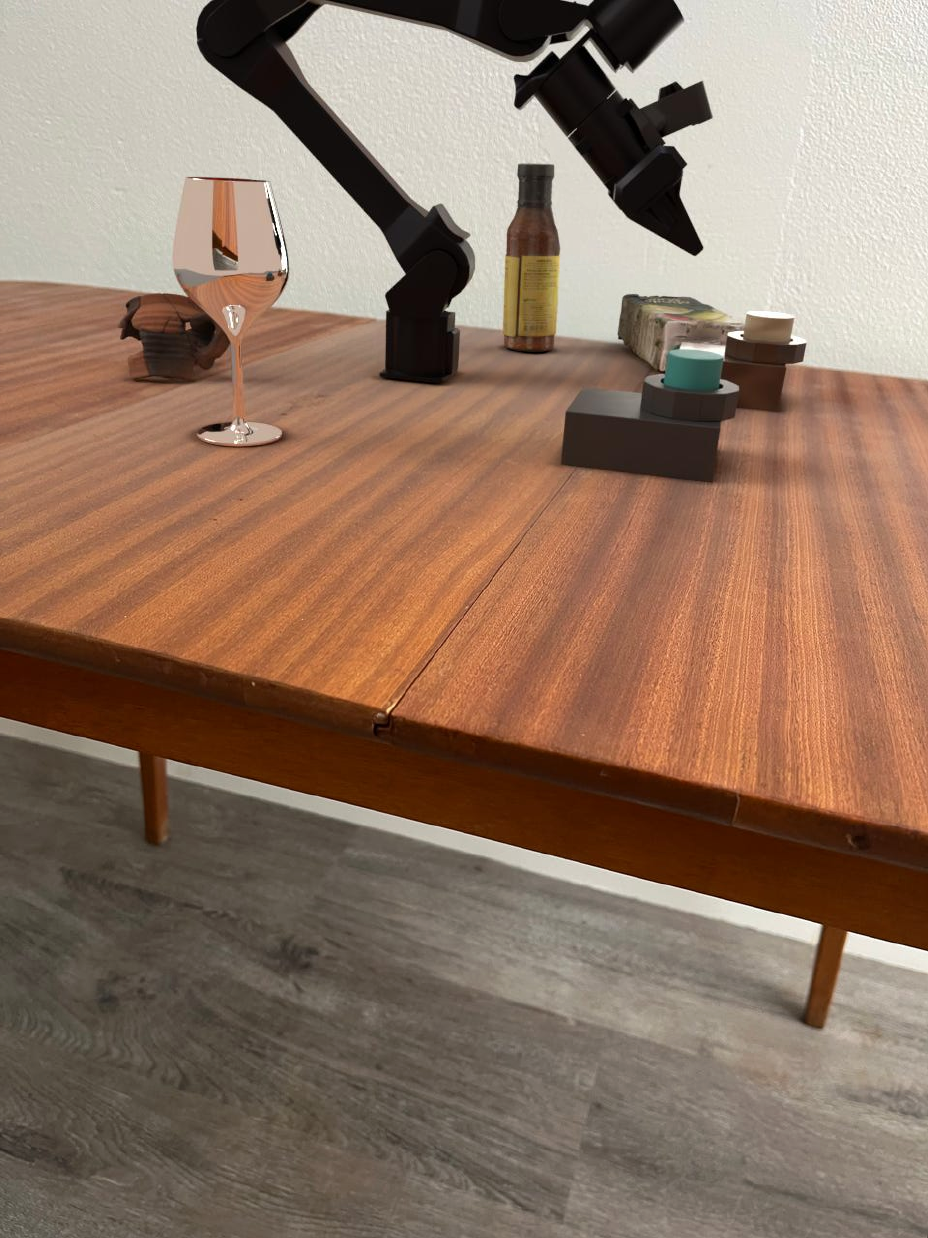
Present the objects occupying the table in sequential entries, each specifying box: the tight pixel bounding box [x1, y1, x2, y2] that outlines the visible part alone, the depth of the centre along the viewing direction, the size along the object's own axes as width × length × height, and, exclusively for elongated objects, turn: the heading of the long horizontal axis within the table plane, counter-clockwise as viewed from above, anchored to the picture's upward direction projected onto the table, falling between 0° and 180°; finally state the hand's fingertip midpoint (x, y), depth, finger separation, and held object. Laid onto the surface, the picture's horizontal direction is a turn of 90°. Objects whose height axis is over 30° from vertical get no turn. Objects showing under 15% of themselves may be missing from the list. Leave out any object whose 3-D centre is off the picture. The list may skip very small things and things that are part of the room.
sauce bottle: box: [502, 162, 561, 353], centre depth 112 cm, size 6×6×20 cm
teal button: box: [664, 349, 724, 391], centre depth 73 cm, size 4×4×2 cm
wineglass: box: [171, 176, 291, 447], centre depth 72 cm, size 8×8×18 cm
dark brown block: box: [560, 373, 739, 483], centre depth 75 cm, size 12×9×6 cm
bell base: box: [680, 331, 808, 413], centre depth 96 cm, size 12×9×6 cm
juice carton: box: [617, 293, 745, 372], centre depth 114 cm, size 20×10×6 cm, turn 7°
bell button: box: [743, 310, 795, 342], centre depth 94 cm, size 4×4×3 cm
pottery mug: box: [117, 292, 230, 382], centre depth 94 cm, size 12×10×8 cm
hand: (699, 252), depth 92 cm, fingers closed
